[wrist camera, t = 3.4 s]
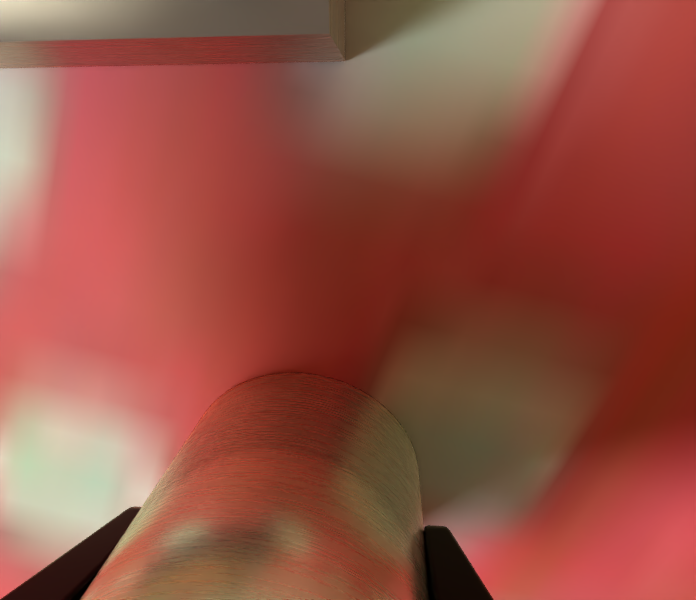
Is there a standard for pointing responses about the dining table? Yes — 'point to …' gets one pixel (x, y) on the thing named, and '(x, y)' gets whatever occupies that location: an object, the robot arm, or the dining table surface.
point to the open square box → (169, 32)
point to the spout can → (280, 504)
